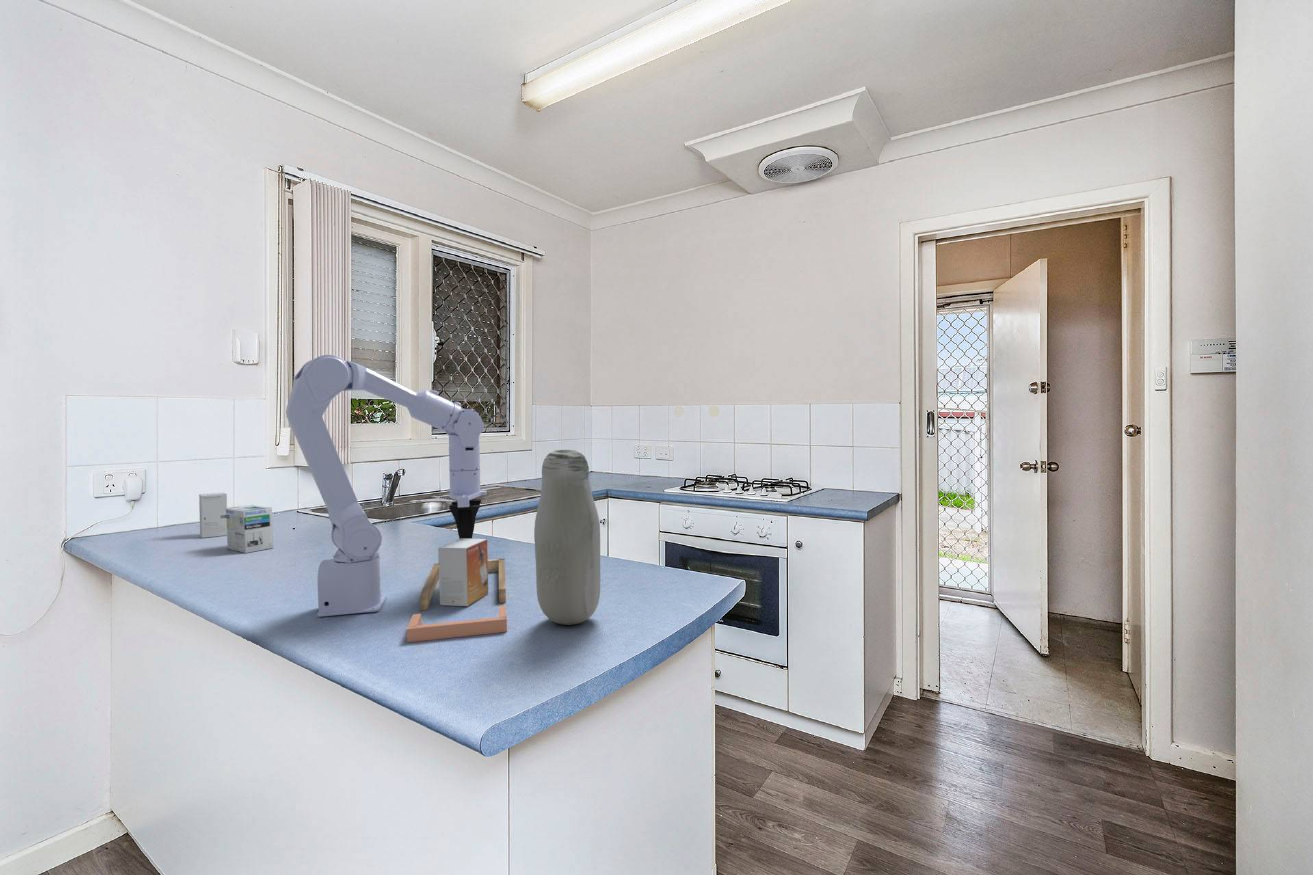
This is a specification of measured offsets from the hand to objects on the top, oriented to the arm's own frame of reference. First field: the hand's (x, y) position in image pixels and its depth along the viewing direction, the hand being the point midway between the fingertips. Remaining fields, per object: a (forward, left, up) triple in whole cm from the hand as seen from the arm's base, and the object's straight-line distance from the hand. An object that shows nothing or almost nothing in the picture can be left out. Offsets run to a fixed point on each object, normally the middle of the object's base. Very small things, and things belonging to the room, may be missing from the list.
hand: (466, 538), depth 114 cm
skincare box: (-73, +73, -10) cm, 104 cm away
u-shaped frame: (0, -2, -9) cm, 10 cm away
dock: (0, -24, -9) cm, 26 cm away
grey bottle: (+17, -26, -10) cm, 33 cm away
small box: (0, -9, -10) cm, 13 cm away
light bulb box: (-56, +51, -10) cm, 76 cm away
